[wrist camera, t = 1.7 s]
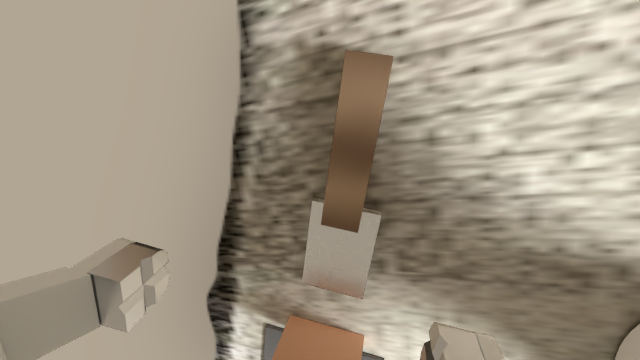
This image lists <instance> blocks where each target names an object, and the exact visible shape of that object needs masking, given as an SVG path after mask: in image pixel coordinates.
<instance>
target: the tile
mask: <svg viewBox="0 0 640 360" xmlns="http://www.w3.org/2000/svg"><path fill="white" fill-rule="evenodd" d="M363 341H364V336H363V335H360V334H356V333H353V332H349V331H346V330H342V329H339V328H335V327H332V326H328V325H325V324H321V323H317V322H314V321H310V320H307V319H303V318H300V317H296V316H293V315H290V317H289V319H288V321H287V324H286V326H285V329H284V331H283V333H282V336H281V338H280V341H279V343H278V345H277V348H276V350H275V352H274V355H273V357H272V360H361V359H362V350H363Z"/></svg>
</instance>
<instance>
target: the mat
mask: <svg viewBox="0 0 640 360" xmlns="http://www.w3.org/2000/svg"><path fill="white" fill-rule="evenodd" d="M283 331H284V329H282V328H278V327H275V326H271V325H268V324H267V325H266V330H265V344H264V358H263V360H272V357H273V355H274V352H275V350H276V348H277V345H278V343H279V341H280V338H281V336H282V333H283ZM361 360H384V358H381V357H377V356H374V355H370V354H367V353H364V352H362V359H361Z"/></svg>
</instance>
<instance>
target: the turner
mask: <svg viewBox="0 0 640 360" xmlns="http://www.w3.org/2000/svg"><path fill="white" fill-rule="evenodd" d="M392 62H393V56H389V55H381V54H372V53H364V52H356V51H348V50H346V51H345V58H344V65H343V72H342V79H341V86H340V93H339V100H338V107H337V114H336V121H335V128H334V135H333V142H332V149H331V156H330V163H329V170H328V177H327V184H326V191H325V198H324V199H320V198H315V197H314V199H313V200H312V206H311V214H310V222H309V230H308V238H307V246H306V253H305V261H304V269H303V277H302V283H304V284H308V285H312V286H316V287H319V288H323V289H327V290H331V291H334V292H338V293H342V294H346V295H350V296H353V297H357V298H361V299H363V294H364V290H365V286H366V281H367V277H368V273H369V268H370V264H371V259H372V255H373V251H374V246H375V242H376V238H377V233H378V229H379V224H380V220H381V216H382V212H381V211H376V210H372V209H367V208H363V207H364V202H365V197H366V192H367V187H368V182H369V177H370V172H371V167H372V162H373V157H374V152H375V147H376V142H377V137H378V132H379V127H380V122H381V117H382V112H383V107H384V102H385V97H386V92H387V87H388V82H389V77H390V72H391V67H392Z"/></svg>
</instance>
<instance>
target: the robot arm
mask: <svg viewBox="0 0 640 360" xmlns="http://www.w3.org/2000/svg"><path fill="white" fill-rule="evenodd" d="M167 262H168V252H166V251H164V250H162V249H158V248H155V247H152V246H149V245H145V244H141V243H138V242H134V241H130V240H127V239H124V238H121V239H116V240H114V241H113V242H111V243H110V244H108V245H106V246H105V247H103V248H102V249H100V250H98V251H97V252H95V253H93V254H92V255H90V256H89V257H88V258H86V259H84V260H82V261H81V262H79V263H78V264H76V265H74V266H73V267H71V268H66V267H64V268H60V269H57V270H53V271H49V272H45V273H42V274H38V275H35V276H30V277H27V278H23V279H19V280H16V281H12V282H8V283H5V284H1V285H0V360H36V359H38V358H40V357H42V356H43V355H46V354H48V353H50V352H52V351H53V350H55V349H57V348H59V347H61V346H63V345H65V344H67V343H69V342H71V341H73V340H75V339H77V338H79V337H81V336H83V335H85V334H87V333H89V332H91V331H93V330H95V329H96V328H99V327H100V325H102V326H106V327H110V328H113V329H117V330H120V331H124V332H128V331H129V330H130V329H131V328H132V327H133V326H134V325H135V324H136V323H137V322H138V321H139V320H140V319H141V318H142V317H143V316H144V315H145V312H146V307H148V306H150V305H153V304H155V303H157V302H158V301H159V299H160V298H161V297H162V296H163V295H164V293H165V291H166V289H167V287H168V284H169V272H168V270H167V269H166V267H165V264H167ZM429 336H430V341H428V342H426V343H424V346H423V348H422V351H421V357H420V360H504V358H503V356H502V353H501V351H500V349H499V346H498V344H497V341H496V340H495V339H494V338H493V337H492V336H488V335H484V334H480V333H476V332H471V331H468V330H464V329H460V328H456V327H452V326H448V325H444V324H440V323H437V322H434V323H433V324H432V325H431V328H430V330H429ZM615 360H640V324H639V325H638V326H636V327H635V328H634V329H633V330H632V331H631V332H630V333H629V334H628V335H627V337H626V338H625V339H624V341H623V342H622V344H621V345H620V347H619V349H618V352H617V355H616V357H615Z"/></svg>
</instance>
